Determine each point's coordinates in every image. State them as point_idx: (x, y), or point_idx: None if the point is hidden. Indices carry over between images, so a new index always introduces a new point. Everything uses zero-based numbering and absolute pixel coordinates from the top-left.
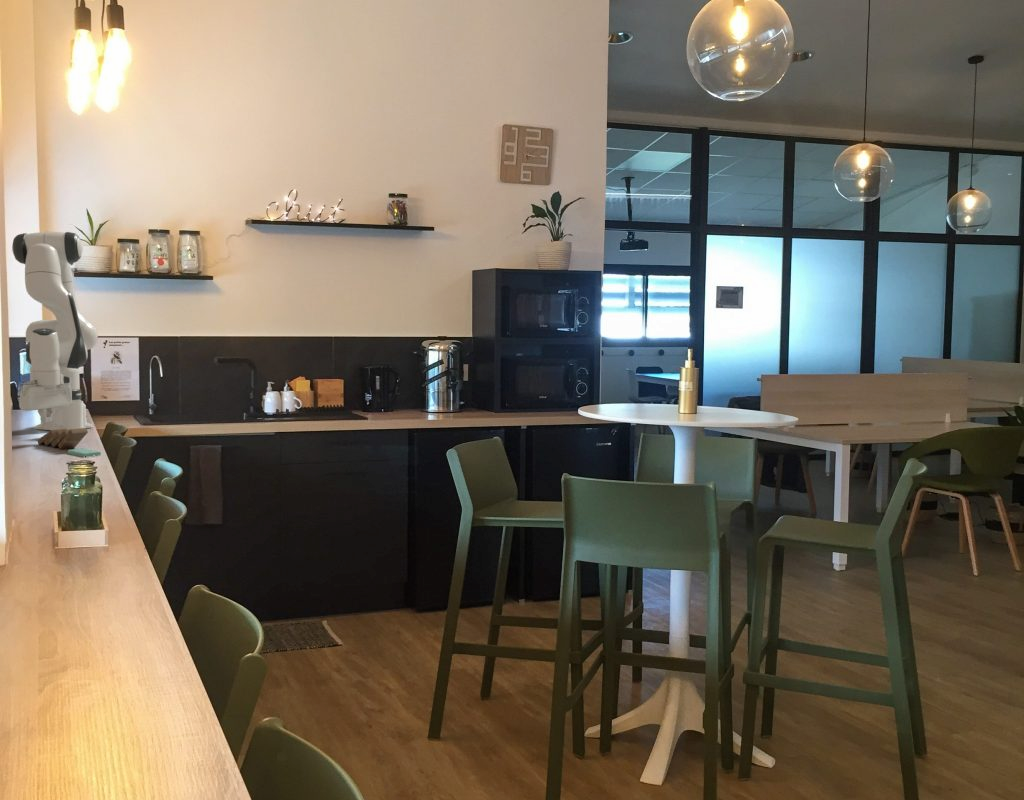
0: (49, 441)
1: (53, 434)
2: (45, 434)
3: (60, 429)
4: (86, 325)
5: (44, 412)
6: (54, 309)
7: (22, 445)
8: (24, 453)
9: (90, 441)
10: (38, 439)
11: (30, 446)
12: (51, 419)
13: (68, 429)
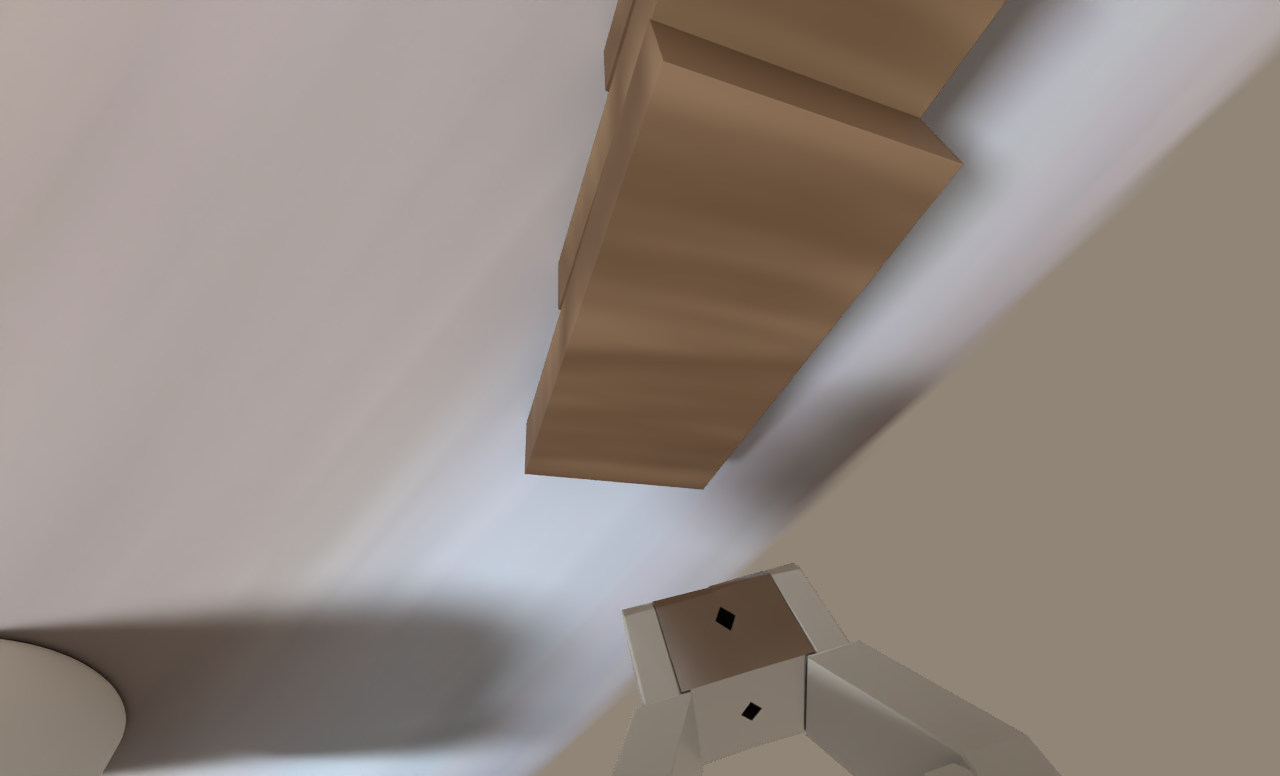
0: None
1: (948, 74)
2: (815, 346)
3: (794, 109)
4: None
5: (977, 740)
6: None
7: (790, 505)
8: (1235, 42)
9: (5, 155)
10: (714, 472)
11: (812, 406)
12: (640, 632)
13: (30, 766)
